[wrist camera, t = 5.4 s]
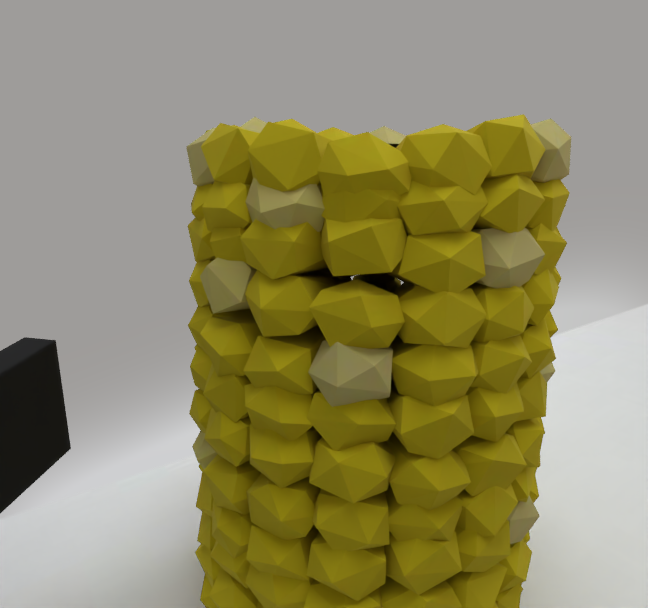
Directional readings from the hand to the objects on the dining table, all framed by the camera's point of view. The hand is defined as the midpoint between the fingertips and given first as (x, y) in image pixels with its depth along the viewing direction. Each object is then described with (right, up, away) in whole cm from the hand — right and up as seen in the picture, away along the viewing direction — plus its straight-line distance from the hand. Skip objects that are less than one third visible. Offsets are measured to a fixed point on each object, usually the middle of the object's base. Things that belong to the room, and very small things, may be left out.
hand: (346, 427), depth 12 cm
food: (+1, -6, +7) cm, 9 cm away
